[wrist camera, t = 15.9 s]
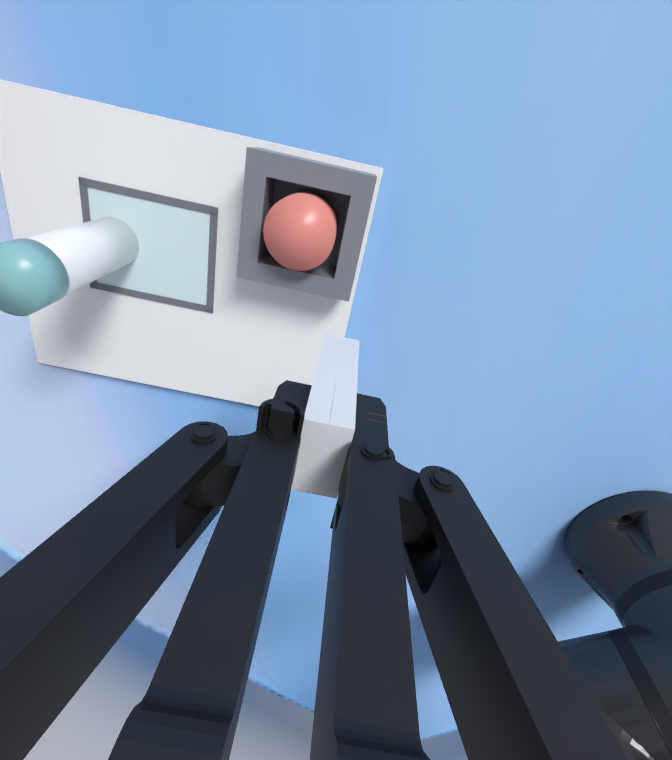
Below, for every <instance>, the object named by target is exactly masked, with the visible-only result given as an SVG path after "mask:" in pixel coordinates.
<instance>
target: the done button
mask: <svg viewBox="0 0 672 760" xmlns="http://www.w3.org/2000/svg"><path fill="white" fill-rule="evenodd" d="M337 232H338V218H337V214H336V212H335V209H334V207H333V206H332V204H331V203H330V202H329V201H328V199H326V198H325V197H324V196H323V195H321V194H319V193H317V192H314V191H310V190H300V191H296V192H294V193H291V194H290V195H288V196H286V197H285V198H283V199H281V200H280V201H278V202H277V203H276V204H274V205H273V206H272V208H271V209H270V210H269V212H268V214H267V216H266V218H265V222H264V227H263V234H264V241H265V244H266V247H267V249H268V251H269V252H270V254H271V255H272V257H273V258H274V259H275V260H276V261H277V262H278V263H280V264H281V265H283V266H284V267H286V268H289V269H292V270H297V271H305V270H310V269H313V268H316V267H317V266H319V265H320V264H322V263H323V262H324V261H325V260H326V259H327V257H328V256H329V255H330V253H331V251H332V248H333V245H334V242H335V239H336V235H337Z"/></svg>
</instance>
